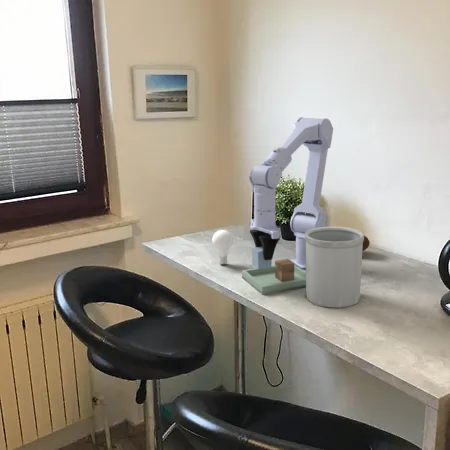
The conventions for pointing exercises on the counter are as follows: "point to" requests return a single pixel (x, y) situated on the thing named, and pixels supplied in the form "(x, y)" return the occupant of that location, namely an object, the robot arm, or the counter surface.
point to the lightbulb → (222, 244)
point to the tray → (273, 280)
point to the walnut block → (284, 270)
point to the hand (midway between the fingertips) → (264, 257)
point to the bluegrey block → (259, 259)
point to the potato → (365, 243)
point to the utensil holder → (333, 266)
